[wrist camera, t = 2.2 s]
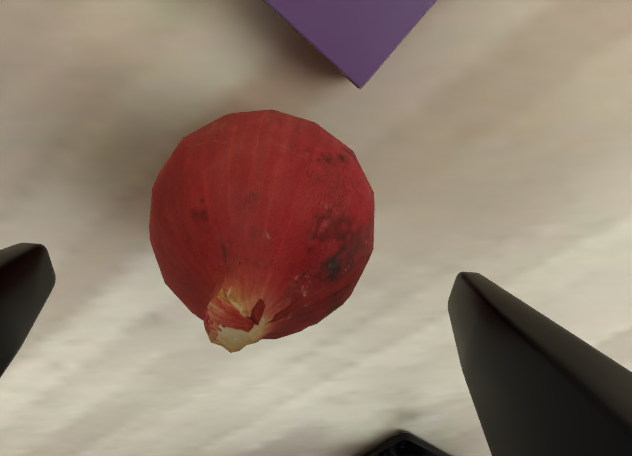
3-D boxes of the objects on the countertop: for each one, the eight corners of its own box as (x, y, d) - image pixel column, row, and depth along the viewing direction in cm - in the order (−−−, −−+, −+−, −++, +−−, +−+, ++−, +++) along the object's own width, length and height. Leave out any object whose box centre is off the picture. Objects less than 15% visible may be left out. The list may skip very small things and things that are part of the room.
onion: (357, 78, 12) (422, 173, 5) (360, 234, 15) (403, 430, 8) (176, 93, 12) (-5, 206, 5) (214, 244, 15) (131, 446, 8)
